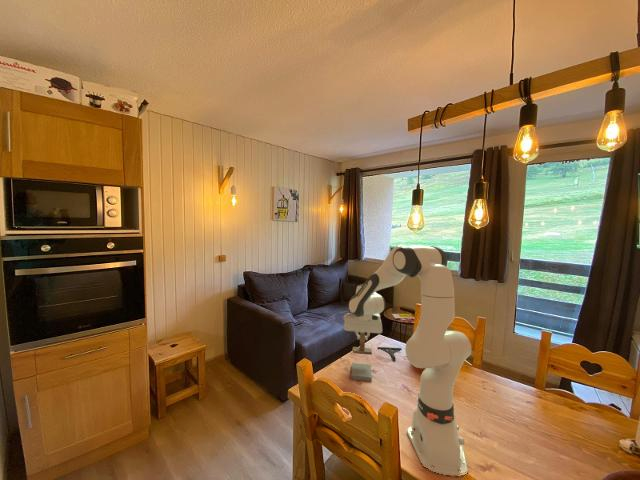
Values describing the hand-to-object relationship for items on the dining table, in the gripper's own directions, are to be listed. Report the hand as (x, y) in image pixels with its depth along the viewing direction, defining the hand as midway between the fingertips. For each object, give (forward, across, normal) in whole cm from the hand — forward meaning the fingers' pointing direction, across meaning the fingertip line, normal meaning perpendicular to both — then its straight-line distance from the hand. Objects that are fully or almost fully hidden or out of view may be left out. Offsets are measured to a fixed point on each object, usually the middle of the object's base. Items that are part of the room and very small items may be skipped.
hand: (362, 339), depth 141 cm
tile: (+15, 0, +1) cm, 15 cm away
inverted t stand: (+7, 0, 0) cm, 7 cm away
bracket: (+17, +18, +18) cm, 31 cm away
